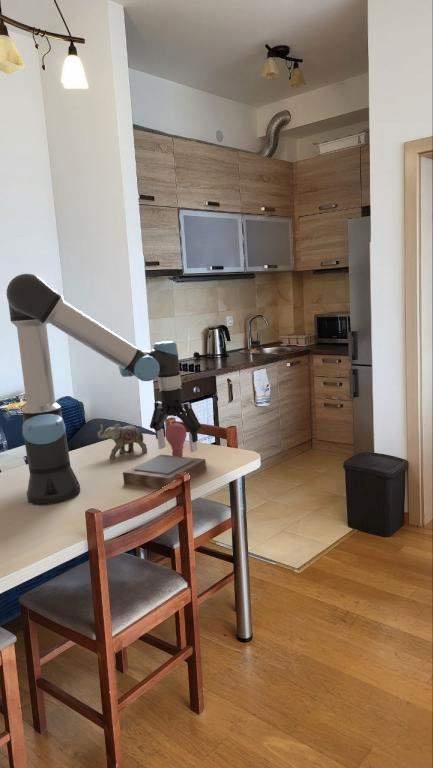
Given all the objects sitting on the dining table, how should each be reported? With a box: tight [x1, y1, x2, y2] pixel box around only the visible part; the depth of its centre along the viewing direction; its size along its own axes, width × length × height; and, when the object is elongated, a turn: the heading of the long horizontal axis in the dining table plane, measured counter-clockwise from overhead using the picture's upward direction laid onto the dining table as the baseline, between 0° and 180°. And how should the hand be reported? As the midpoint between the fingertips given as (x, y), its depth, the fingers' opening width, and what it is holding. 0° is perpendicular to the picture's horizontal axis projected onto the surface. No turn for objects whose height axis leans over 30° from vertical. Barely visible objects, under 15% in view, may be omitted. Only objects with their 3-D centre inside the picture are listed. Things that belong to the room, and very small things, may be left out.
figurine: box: [97, 423, 148, 460], centre depth 205 cm, size 10×14×15 cm, turn 87°
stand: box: [122, 454, 207, 490], centre depth 176 cm, size 18×18×4 cm
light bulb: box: [164, 422, 188, 457], centre depth 193 cm, size 7×7×12 cm
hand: (177, 449), depth 194 cm, fingers open, 13 cm apart
